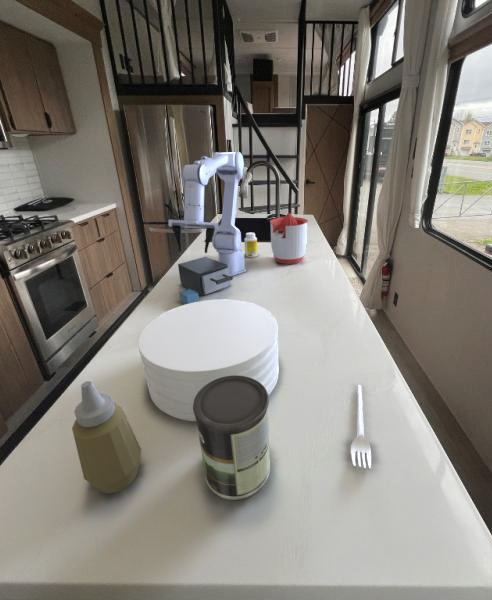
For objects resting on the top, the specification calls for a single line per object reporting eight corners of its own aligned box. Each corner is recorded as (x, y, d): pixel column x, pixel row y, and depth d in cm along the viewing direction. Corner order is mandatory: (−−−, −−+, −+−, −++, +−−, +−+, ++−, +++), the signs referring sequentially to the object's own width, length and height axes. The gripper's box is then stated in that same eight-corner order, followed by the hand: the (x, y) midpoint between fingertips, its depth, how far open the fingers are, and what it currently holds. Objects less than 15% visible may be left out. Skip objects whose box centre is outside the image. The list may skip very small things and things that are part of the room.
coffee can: (201, 504, 46) (187, 432, 39) (208, 443, 55) (197, 377, 49) (274, 497, 46) (271, 425, 40) (268, 438, 55) (265, 372, 49)
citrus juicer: (261, 263, 137) (259, 215, 128) (283, 252, 150) (283, 208, 141) (292, 270, 129) (293, 219, 120) (313, 258, 142) (315, 211, 133)
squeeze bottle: (156, 461, 52) (133, 371, 44) (120, 509, 45) (84, 413, 37) (116, 448, 54) (87, 360, 47) (76, 492, 48) (34, 398, 40)
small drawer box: (229, 286, 116) (227, 264, 112) (201, 296, 109) (198, 273, 105) (208, 276, 125) (205, 256, 121) (181, 285, 118) (177, 264, 114)
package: (191, 297, 107) (189, 288, 106) (199, 302, 104) (198, 292, 103) (180, 301, 105) (178, 292, 104) (188, 306, 102) (186, 296, 100)
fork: (367, 388, 66) (368, 381, 65) (372, 477, 48) (373, 469, 48) (351, 386, 67) (352, 379, 66) (350, 473, 49) (351, 465, 48)
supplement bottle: (260, 255, 146) (259, 233, 142) (250, 258, 143) (248, 235, 139) (252, 253, 150) (251, 231, 146) (243, 255, 147) (241, 233, 143)
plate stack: (184, 334, 87) (178, 295, 82) (287, 344, 81) (287, 303, 76) (120, 410, 62) (106, 361, 57) (262, 432, 57) (259, 380, 52)
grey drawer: (239, 289, 111) (237, 272, 108) (213, 298, 104) (211, 280, 102) (210, 276, 122) (208, 260, 119) (186, 284, 116) (183, 267, 113)
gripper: (167, 202, 92) (167, 251, 94) (219, 207, 95) (217, 253, 97) (169, 205, 99) (169, 250, 101) (217, 209, 102) (216, 253, 104)
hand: (193, 252), depth 100 cm, fingers open, 7 cm apart
